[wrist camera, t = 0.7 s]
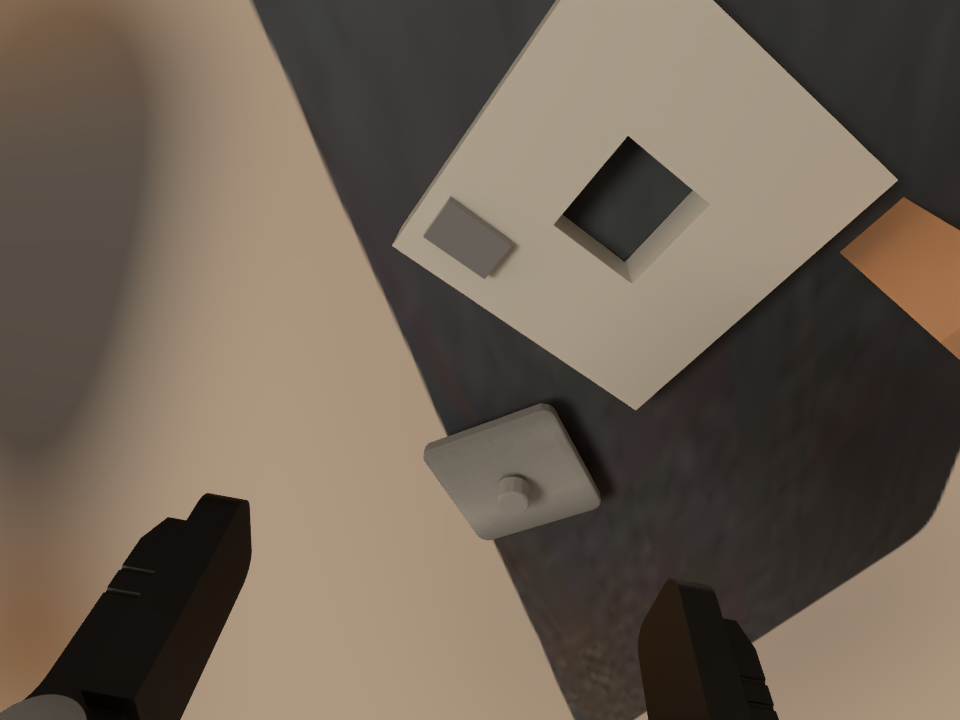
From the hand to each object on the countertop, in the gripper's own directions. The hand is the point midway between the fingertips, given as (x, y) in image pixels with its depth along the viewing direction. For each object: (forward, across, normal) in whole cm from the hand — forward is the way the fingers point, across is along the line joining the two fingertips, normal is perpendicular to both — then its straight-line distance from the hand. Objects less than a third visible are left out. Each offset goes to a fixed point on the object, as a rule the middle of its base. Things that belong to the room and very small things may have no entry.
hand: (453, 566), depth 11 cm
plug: (+26, -22, 0) cm, 34 cm away
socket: (+26, -7, 0) cm, 27 cm away
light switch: (+26, -5, +20) cm, 33 cm away
